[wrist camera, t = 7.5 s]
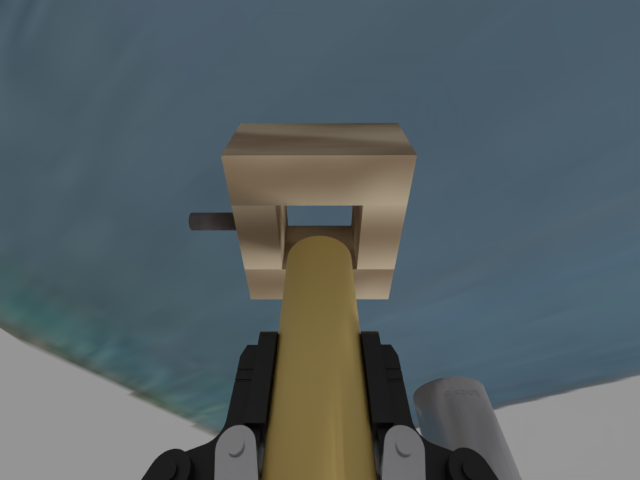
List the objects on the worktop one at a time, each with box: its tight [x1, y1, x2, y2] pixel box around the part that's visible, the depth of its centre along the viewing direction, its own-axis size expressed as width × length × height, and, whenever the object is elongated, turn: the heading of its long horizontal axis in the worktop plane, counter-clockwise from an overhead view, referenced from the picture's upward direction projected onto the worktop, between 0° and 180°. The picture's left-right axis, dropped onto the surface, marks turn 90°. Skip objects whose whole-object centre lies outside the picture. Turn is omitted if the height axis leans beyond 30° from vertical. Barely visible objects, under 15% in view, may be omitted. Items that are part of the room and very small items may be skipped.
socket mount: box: [189, 123, 417, 299], centre depth 21 cm, size 11×14×5 cm
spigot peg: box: [261, 236, 377, 480], centre depth 12 cm, size 4×4×14 cm
